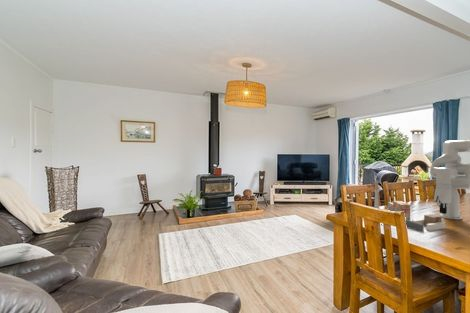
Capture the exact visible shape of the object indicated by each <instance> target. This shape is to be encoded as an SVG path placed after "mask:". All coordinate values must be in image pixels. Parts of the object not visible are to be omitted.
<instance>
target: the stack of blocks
mask: <svg viewBox="0 0 470 313" xmlns="http://www.w3.org/2000/svg"><path fill="white" fill-rule="evenodd" d="M388 210H390V211H404V213H405V217H406V220H409V221H411V204H409V203H407V202H405V201H402V200H392V201H391V202H390V201H387V211H388Z"/></svg>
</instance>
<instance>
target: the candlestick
mask: <svg viewBox="0 0 470 313" xmlns="http://www.w3.org/2000/svg"><path fill="white" fill-rule="evenodd" d="M373 191H374V205H373V209H374V208H378V209H379V210H380V205H379V204H380V203H379V191H380V190H379V180H374V190H373Z"/></svg>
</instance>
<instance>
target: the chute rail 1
mask: <svg viewBox="0 0 470 313" xmlns="http://www.w3.org/2000/svg"><path fill="white" fill-rule="evenodd" d="M411 221H412V222H416V223H419V224H423V225H424V218H419V219H412V220H411ZM424 226H425V225H424Z"/></svg>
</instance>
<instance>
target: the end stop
mask: <svg viewBox="0 0 470 313" xmlns="http://www.w3.org/2000/svg"><path fill="white" fill-rule="evenodd" d="M406 224H407V228H409V229H413V230H417V231H419V232H424V229H425V228H424V226H425V225H423V224H419V223H416V222H412V220H410V221H409V220H406V221H405V225H406Z"/></svg>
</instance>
